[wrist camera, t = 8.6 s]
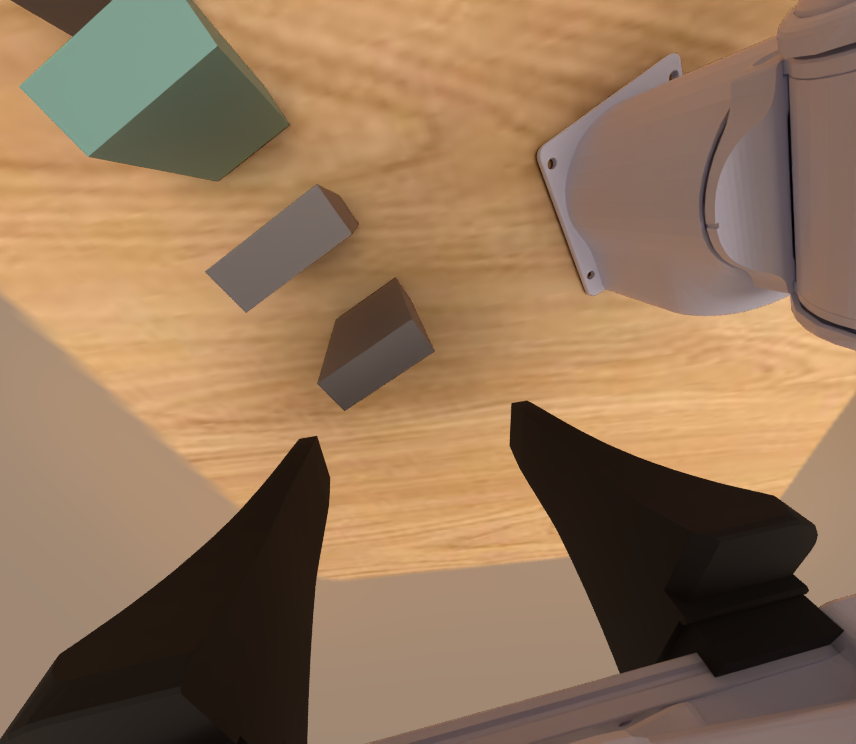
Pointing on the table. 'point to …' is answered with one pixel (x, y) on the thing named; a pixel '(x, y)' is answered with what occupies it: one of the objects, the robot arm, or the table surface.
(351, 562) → the table surface
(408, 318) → the domino
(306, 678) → the robot arm
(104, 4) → the domino
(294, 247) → the domino
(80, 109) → the teal domino
